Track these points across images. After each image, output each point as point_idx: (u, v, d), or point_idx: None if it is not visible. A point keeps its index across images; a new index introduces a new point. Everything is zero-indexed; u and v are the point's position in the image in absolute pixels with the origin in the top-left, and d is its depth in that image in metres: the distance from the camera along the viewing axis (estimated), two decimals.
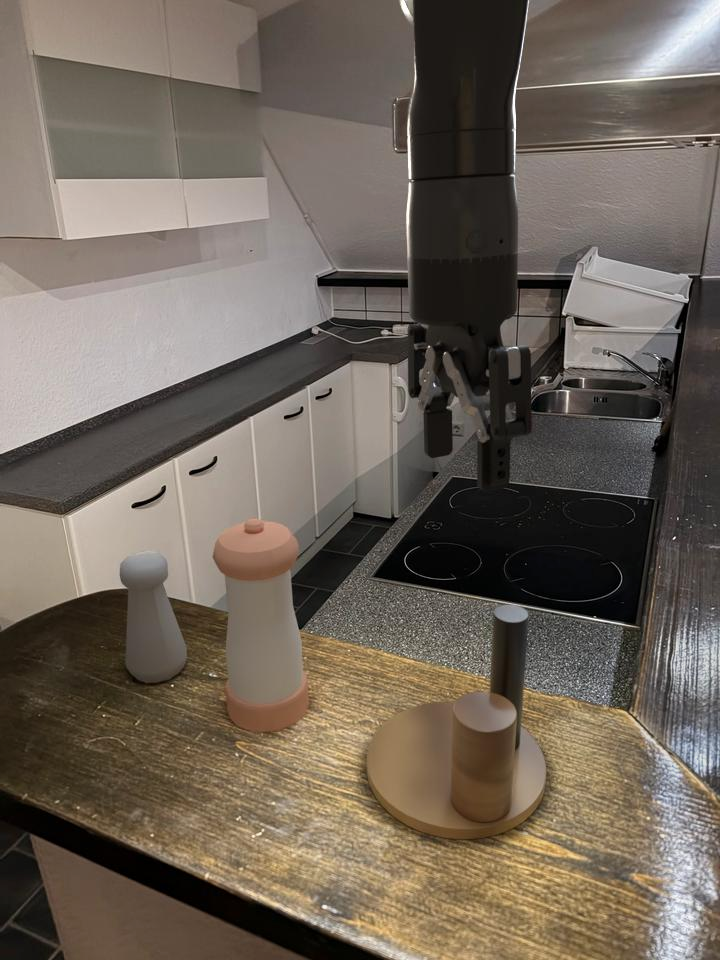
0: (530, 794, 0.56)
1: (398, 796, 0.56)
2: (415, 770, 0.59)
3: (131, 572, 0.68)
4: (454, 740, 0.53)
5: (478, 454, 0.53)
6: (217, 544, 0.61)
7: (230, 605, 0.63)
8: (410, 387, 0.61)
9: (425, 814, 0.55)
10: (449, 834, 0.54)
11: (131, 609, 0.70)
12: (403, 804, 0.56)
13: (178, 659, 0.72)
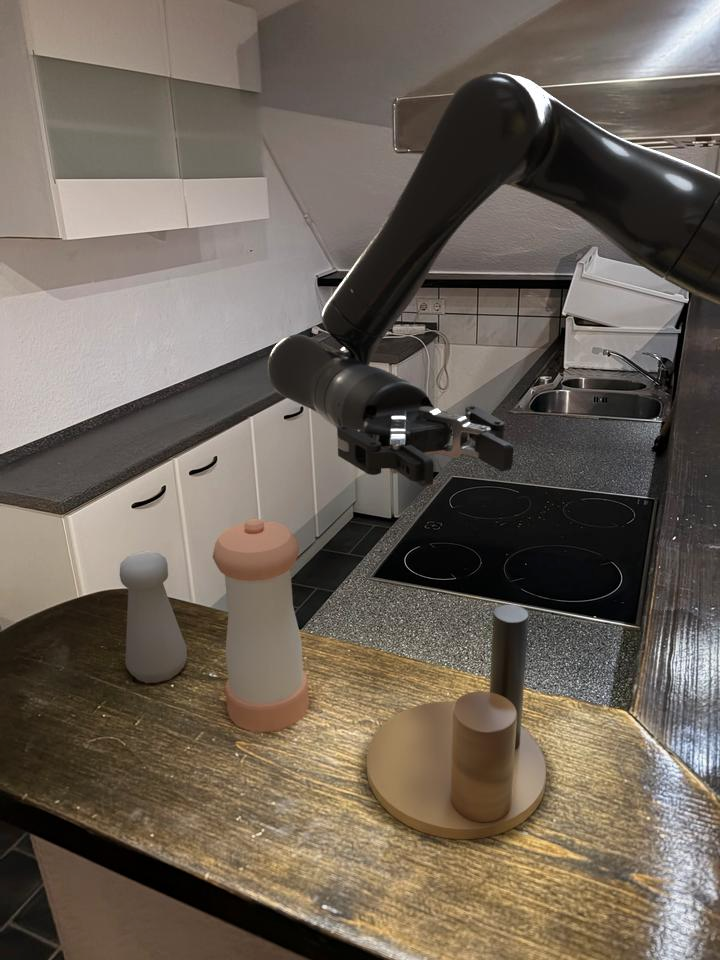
0: (530, 794, 0.56)
1: (398, 796, 0.56)
2: (415, 770, 0.59)
3: (131, 572, 0.68)
4: (454, 740, 0.53)
5: None
6: (217, 544, 0.61)
7: (230, 605, 0.63)
8: None
9: (425, 814, 0.55)
10: (449, 834, 0.54)
11: (131, 609, 0.70)
12: (403, 804, 0.56)
13: (178, 659, 0.72)
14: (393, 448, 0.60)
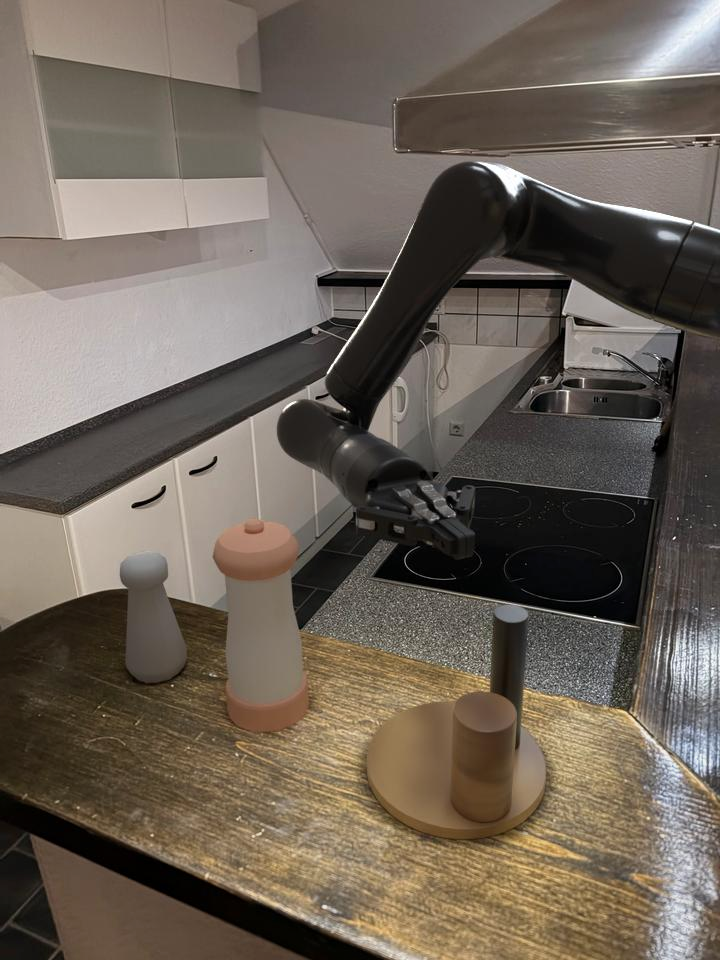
0: (530, 794, 0.56)
1: (398, 796, 0.56)
2: (415, 770, 0.59)
3: (131, 572, 0.68)
4: (454, 740, 0.53)
5: None
6: (217, 544, 0.61)
7: (230, 605, 0.63)
8: None
9: (425, 814, 0.55)
10: (449, 834, 0.54)
11: (131, 609, 0.70)
12: (403, 804, 0.56)
13: (178, 659, 0.72)
14: (428, 522, 0.66)
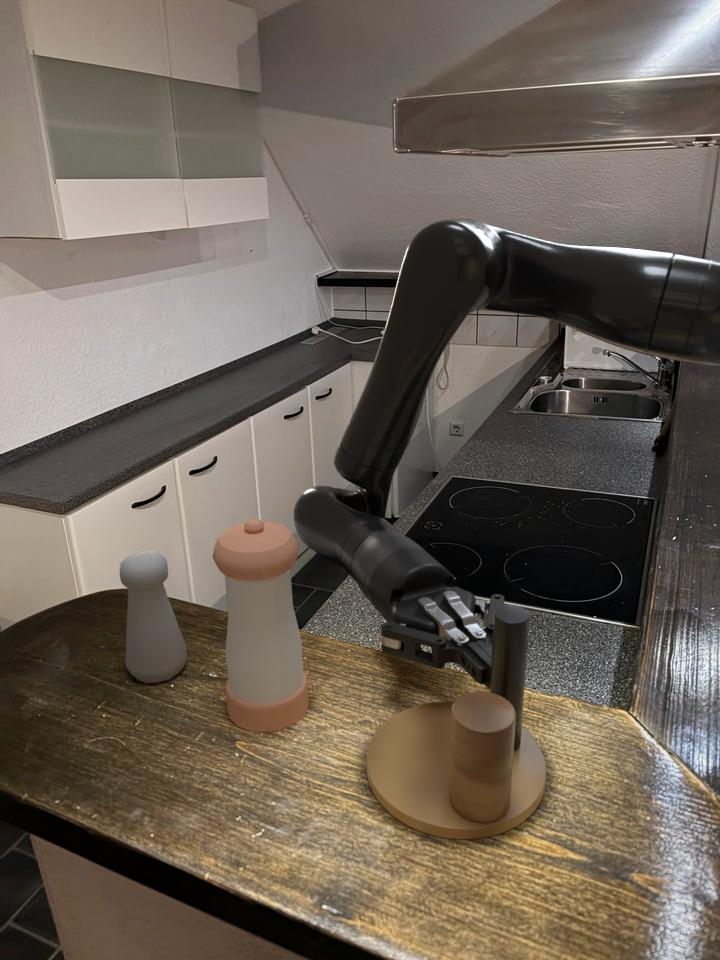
0: (530, 795, 0.56)
1: (397, 795, 0.57)
2: (415, 769, 0.59)
3: (131, 572, 0.68)
4: (453, 740, 0.53)
5: None
6: (217, 544, 0.61)
7: (230, 605, 0.63)
8: None
9: (424, 813, 0.55)
10: (447, 834, 0.54)
11: (131, 609, 0.70)
12: (402, 803, 0.56)
13: (178, 659, 0.72)
14: (458, 645, 0.63)
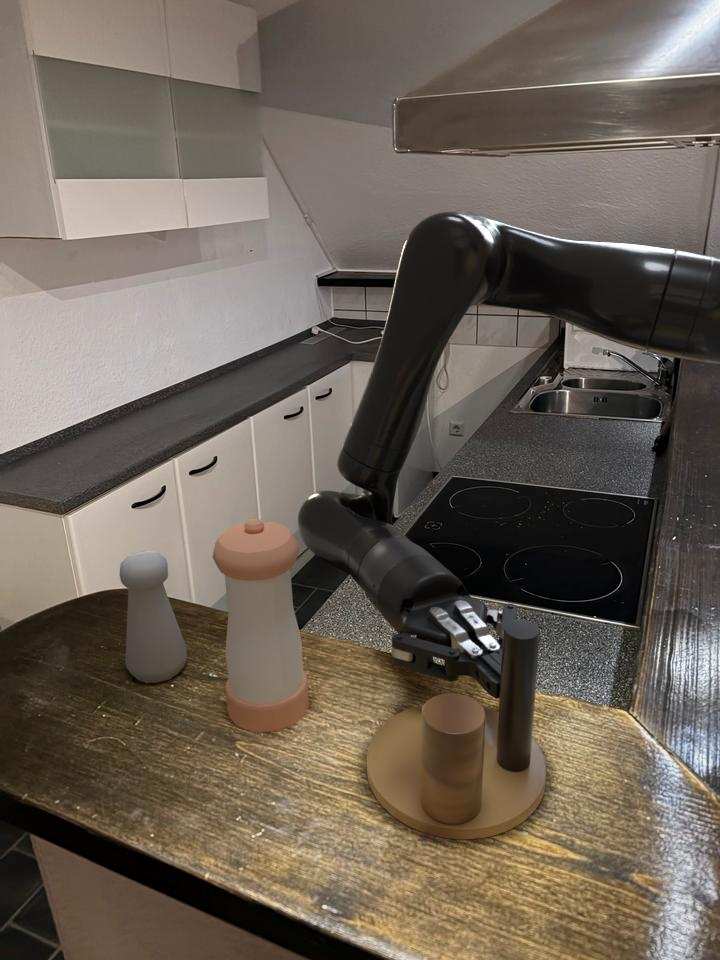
0: (502, 815, 0.55)
1: (380, 770, 0.59)
2: (411, 755, 0.60)
3: (131, 572, 0.68)
4: None
5: None
6: (217, 544, 0.61)
7: (230, 605, 0.63)
8: None
9: (392, 794, 0.57)
10: (404, 820, 0.55)
11: (131, 609, 0.70)
12: (379, 778, 0.58)
13: (178, 659, 0.72)
14: (471, 657, 0.62)
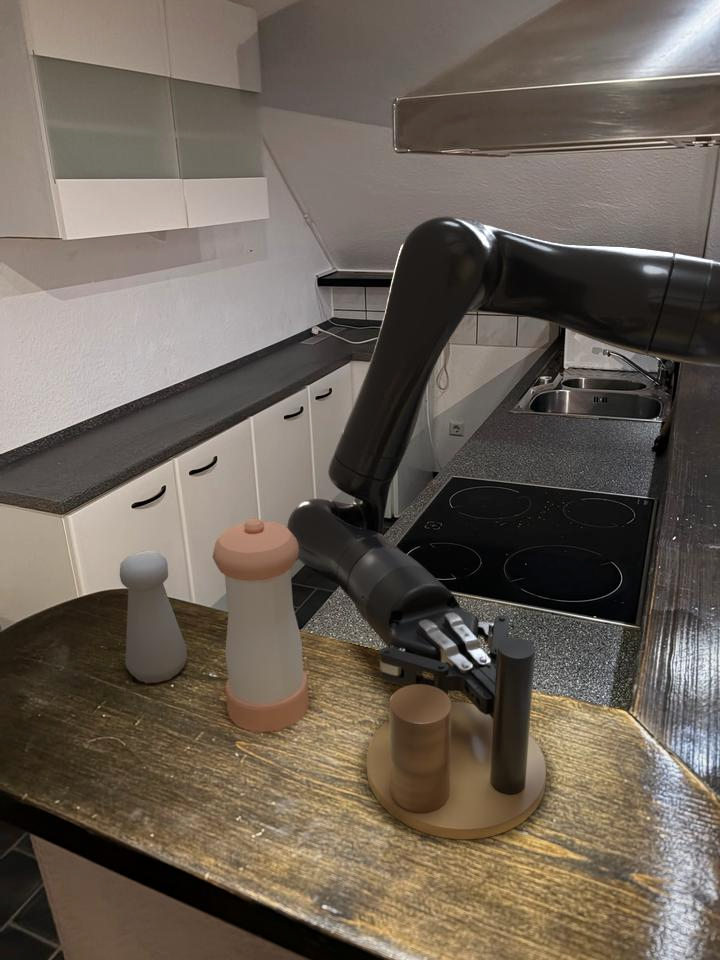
0: (454, 822, 0.54)
1: (382, 741, 0.62)
2: None
3: (131, 572, 0.68)
4: None
5: None
6: (217, 544, 0.61)
7: (230, 605, 0.63)
8: None
9: (376, 763, 0.60)
10: (372, 788, 0.58)
11: (131, 609, 0.70)
12: (376, 747, 0.61)
13: (178, 659, 0.72)
14: (461, 672, 0.60)
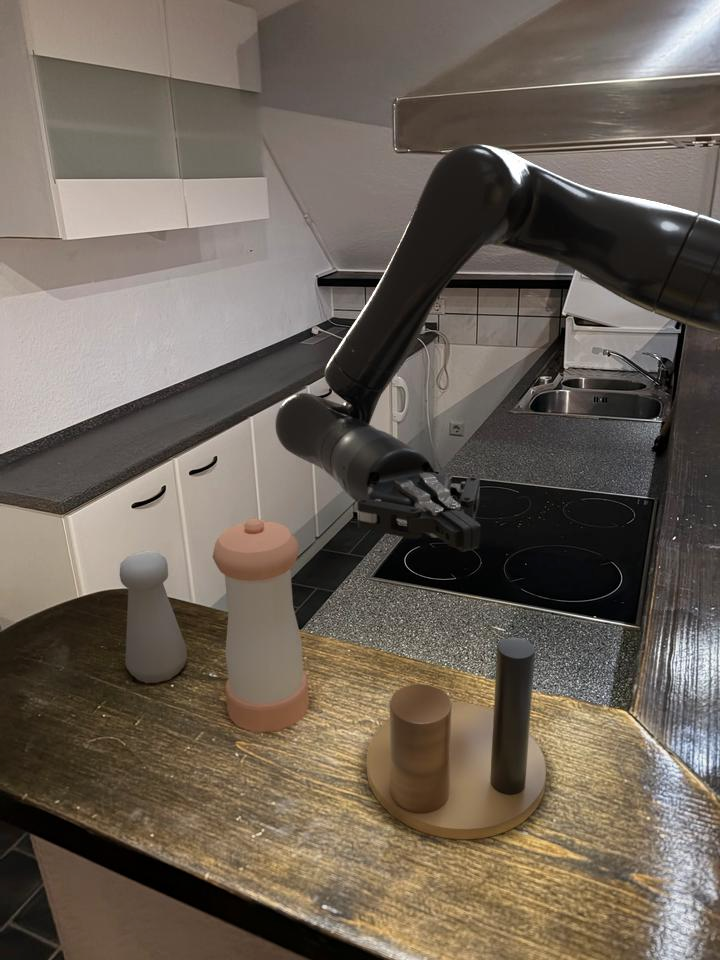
0: (454, 822, 0.54)
1: (382, 741, 0.62)
2: None
3: (131, 572, 0.68)
4: None
5: None
6: (217, 544, 0.61)
7: (230, 605, 0.63)
8: None
9: (376, 763, 0.60)
10: (372, 788, 0.58)
11: (131, 609, 0.70)
12: (376, 747, 0.61)
13: (178, 659, 0.72)
14: (432, 514, 0.64)
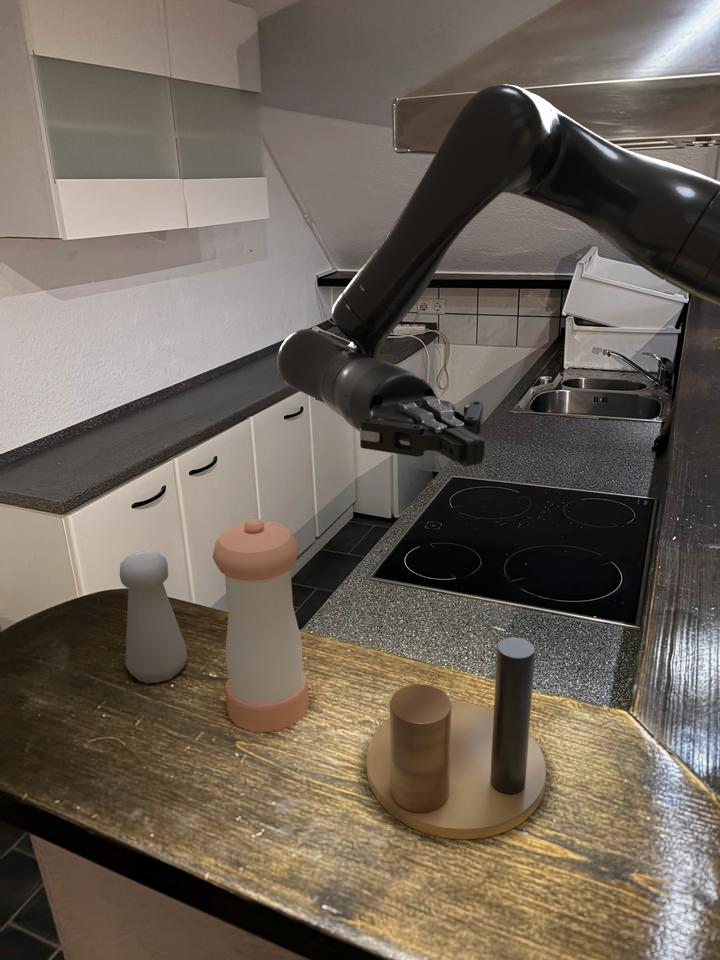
0: (454, 822, 0.54)
1: (382, 741, 0.62)
2: None
3: (131, 572, 0.68)
4: None
5: None
6: (217, 544, 0.61)
7: (230, 605, 0.63)
8: None
9: (376, 763, 0.60)
10: (372, 788, 0.58)
11: (131, 609, 0.70)
12: (376, 747, 0.61)
13: (178, 659, 0.72)
14: (435, 431, 0.64)
